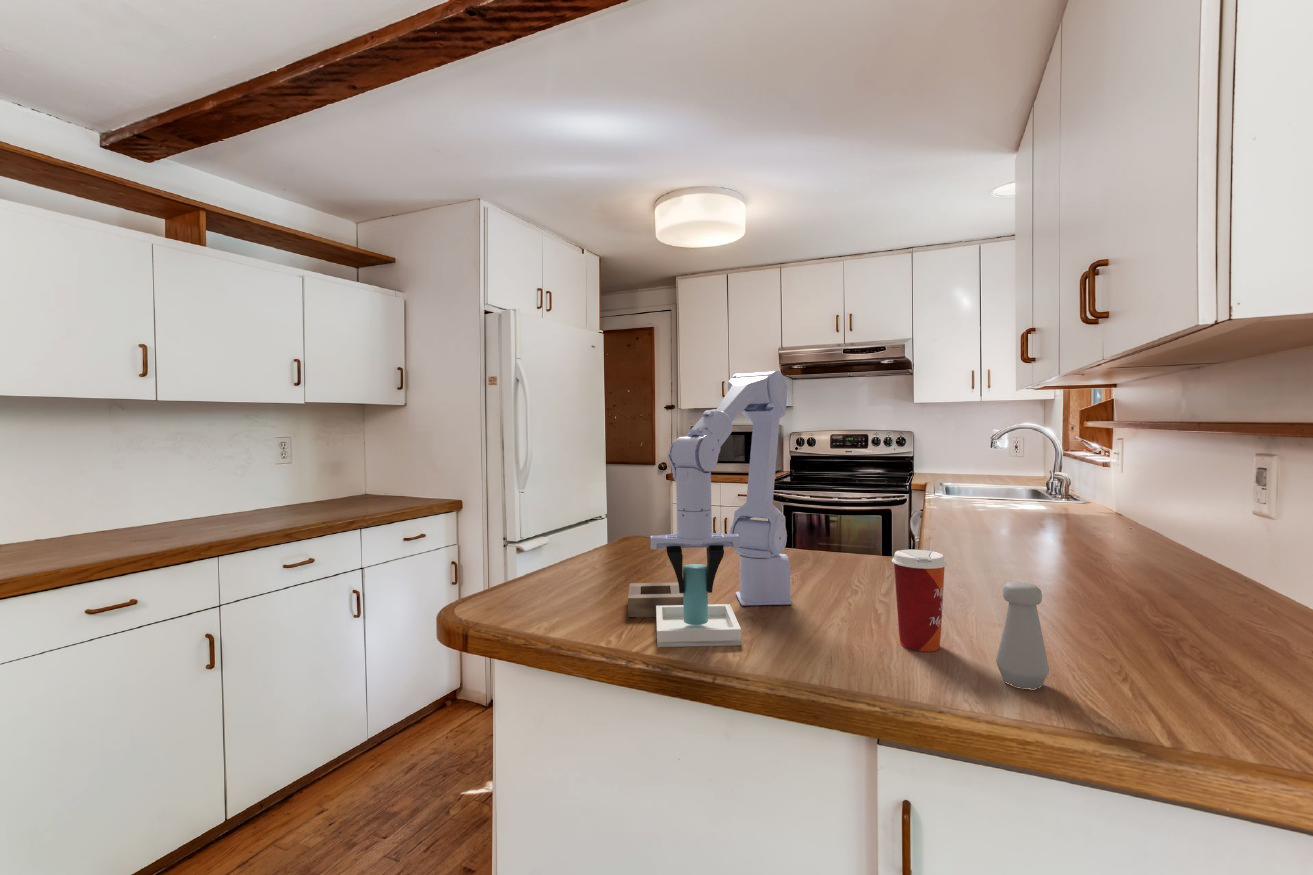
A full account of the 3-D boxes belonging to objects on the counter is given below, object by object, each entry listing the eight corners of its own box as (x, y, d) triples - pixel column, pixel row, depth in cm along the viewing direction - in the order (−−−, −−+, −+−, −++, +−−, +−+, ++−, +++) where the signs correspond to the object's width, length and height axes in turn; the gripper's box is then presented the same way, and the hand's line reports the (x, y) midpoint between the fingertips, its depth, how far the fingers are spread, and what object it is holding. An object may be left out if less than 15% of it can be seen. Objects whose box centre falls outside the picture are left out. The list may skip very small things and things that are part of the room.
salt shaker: (986, 675, 80) (986, 578, 80) (1027, 673, 81) (1026, 577, 80) (1016, 694, 74) (1016, 590, 74) (1060, 692, 75) (1059, 588, 75)
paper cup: (954, 656, 87) (953, 560, 87) (897, 653, 88) (896, 558, 88) (939, 637, 94) (939, 549, 94) (888, 634, 96) (887, 547, 96)
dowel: (706, 616, 101) (705, 563, 101) (709, 624, 97) (708, 569, 97) (682, 617, 101) (681, 564, 101) (685, 625, 97) (684, 570, 97)
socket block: (681, 600, 117) (681, 582, 117) (684, 616, 107) (683, 597, 107) (630, 601, 117) (629, 583, 117) (628, 617, 107) (627, 598, 107)
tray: (730, 618, 106) (729, 604, 106) (741, 645, 93) (741, 629, 93) (656, 619, 105) (656, 605, 105) (657, 647, 92) (657, 631, 92)
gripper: (650, 513, 95) (651, 599, 95) (741, 511, 95) (743, 597, 95) (650, 507, 102) (651, 587, 102) (735, 505, 102) (736, 585, 102)
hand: (695, 591), depth 99 cm, fingers closed on dowel, 4 cm apart
